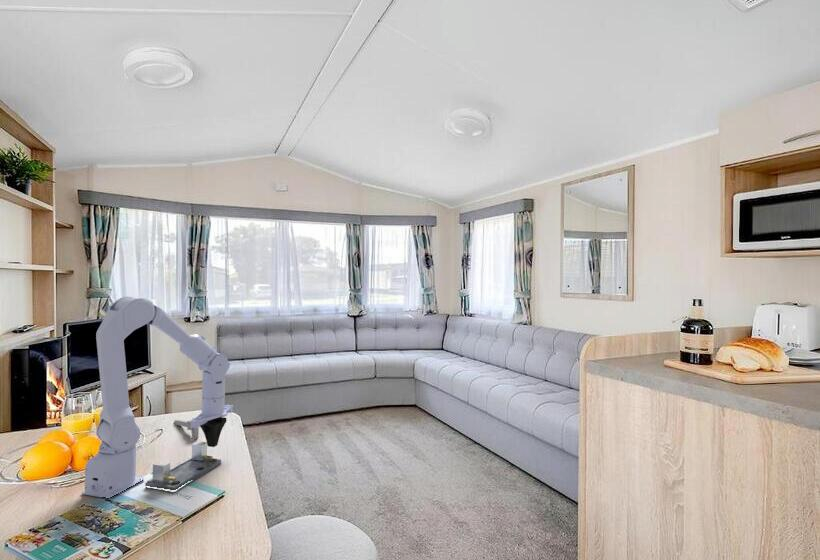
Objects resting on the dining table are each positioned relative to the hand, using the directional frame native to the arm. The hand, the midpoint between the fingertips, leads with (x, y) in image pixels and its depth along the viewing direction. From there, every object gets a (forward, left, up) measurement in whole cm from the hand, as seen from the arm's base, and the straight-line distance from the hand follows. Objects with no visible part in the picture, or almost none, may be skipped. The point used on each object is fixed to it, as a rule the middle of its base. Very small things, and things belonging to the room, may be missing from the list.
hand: (212, 445), depth 119 cm
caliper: (+15, +21, -3) cm, 26 cm away
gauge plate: (-11, -2, -3) cm, 12 cm away
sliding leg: (-5, -1, -2) cm, 5 cm away
